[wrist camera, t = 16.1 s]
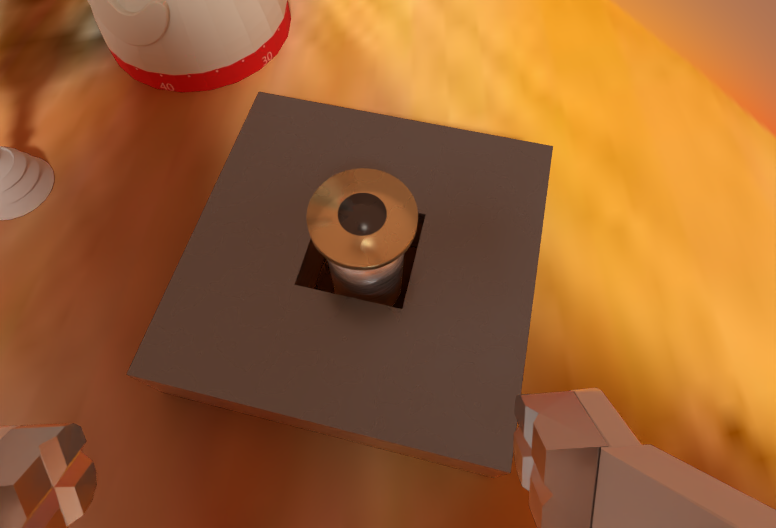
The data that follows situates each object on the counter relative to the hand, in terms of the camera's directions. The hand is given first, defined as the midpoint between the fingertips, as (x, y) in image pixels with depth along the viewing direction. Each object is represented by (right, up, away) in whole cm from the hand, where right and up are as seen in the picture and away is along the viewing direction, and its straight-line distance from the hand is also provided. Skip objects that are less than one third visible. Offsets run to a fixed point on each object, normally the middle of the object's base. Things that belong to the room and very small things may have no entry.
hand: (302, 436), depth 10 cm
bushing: (0, +2, +20) cm, 21 cm away
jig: (0, +2, +21) cm, 21 cm away
